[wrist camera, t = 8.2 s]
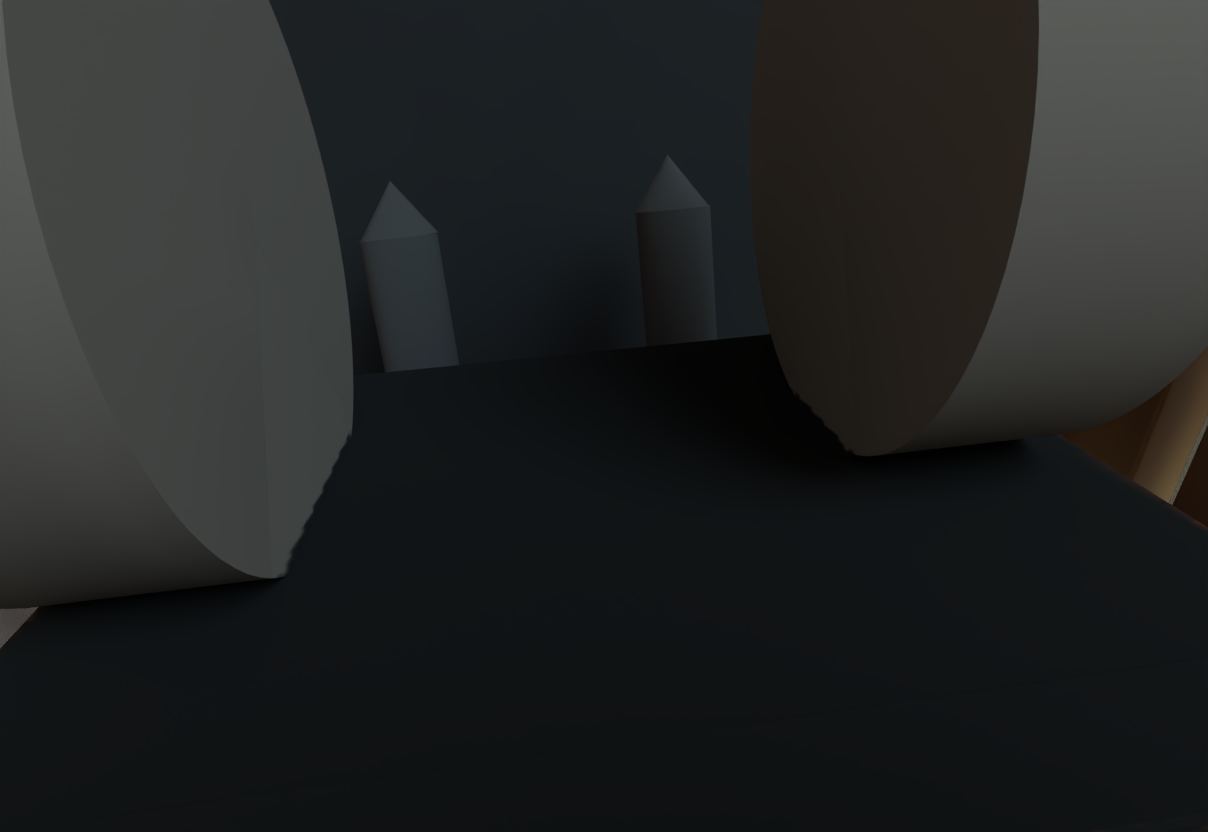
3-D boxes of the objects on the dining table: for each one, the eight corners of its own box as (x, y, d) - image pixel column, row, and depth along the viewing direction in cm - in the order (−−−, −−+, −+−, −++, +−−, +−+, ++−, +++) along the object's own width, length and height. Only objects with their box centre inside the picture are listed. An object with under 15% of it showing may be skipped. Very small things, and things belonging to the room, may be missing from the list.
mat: (771, 920, 15) (778, 940, 15) (291, 986, 14) (286, 1009, 13) (1060, -258, 7) (1089, -275, 7) (0, -437, 6) (-34, -474, 5)
